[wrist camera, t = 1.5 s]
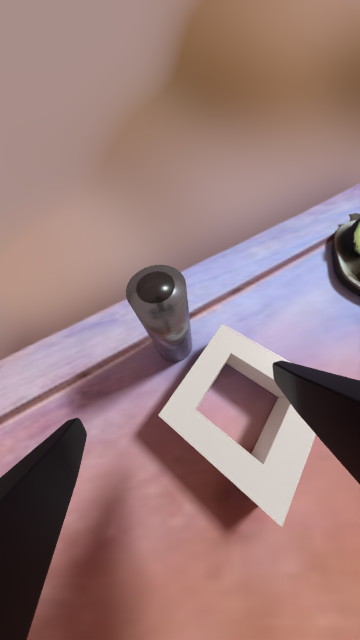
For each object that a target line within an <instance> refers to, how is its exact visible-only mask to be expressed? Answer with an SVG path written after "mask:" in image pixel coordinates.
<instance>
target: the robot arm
mask: <svg viewBox="0 0 360 640" xmlns="http://www.w3.org/2000/svg"><path fill="white" fill-rule="evenodd" d="M272 368H273V377H274V381H275V383H276V384H277V386H278V387H279V388H280V390H281V391H282V392H283V394H284V395H285V397H286V398H287V399H288V401H289V402H290V404H291V405H292V406H293V408H294V409H295V410H296V412H297V413H298V414H299V415H300V417H301V418H302V419H303V420H304V421H305V422H306V424H307V425H308V426H309V427H310V428H311V429H312V430H313V432H314V433H315V434H316V435H317V436H318V437H319V438H320V440H321V441H322V442H323V443H324V444H325V445H326V446H327V448H328V449H329V450H330V451H331V452H332V453H333V454H334V456H335V457H336V458H337V459H338V460H339V461H340V462H341V464H342V465H343V466H344V467H345V468H346V469H347V470H348V472H349V473H350V474H351V475H352V476H353V477H354V478H355V480H356V481H357V482H358V483H359V484H360V381H359V380H355V379H351V378H347V377H344V376H340V375H336V374H332V373H328V372H324V371H321V370H317V369H313V368H309V367H305V366H301V365H298V364H294V363H290V362H286V361H277V362H274V363H273V364H272ZM86 437H87V433H86V430H85V428H84V426H83V424H82V422H81V420H80V419H79V418H74V419H70V420H68V421H67V422H65V423H64V424H63V425H62V426H61V427H59V428H58V429H57V430H56V431H55V432H54V433H52V434H51V435H50V436H49V437H48V438H47V439H45V440H44V441H43V442H42V443H41V444H39V445H38V446H37V447H36V448H35V449H34V450H32V451H31V452H30V453H29V454H28V455H27V456H25V457H24V458H23V459H22V460H21V461H20V462H18V463H17V464H16V465H15V466H14V467H12V468H11V469H10V470H9V471H8V472H7V473H5V474H4V475H3V476H2V477H1V478H0V640H27V637H28V633H29V630H30V627H31V624H32V621H33V618H34V614H35V611H36V608H37V605H38V602H39V598H40V595H41V592H42V589H43V586H44V583H45V579H46V576H47V573H48V570H49V567H50V563H51V560H52V557H53V554H54V551H55V548H56V544H57V541H58V538H59V535H60V532H61V528H62V525H63V522H64V519H65V516H66V513H67V509H68V506H69V503H70V500H71V497H72V493H73V490H74V487H75V484H76V480H77V477H78V473H79V469H80V464H81V460H82V455H83V451H84V446H85V442H86Z"/></svg>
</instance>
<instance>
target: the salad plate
mask: <svg viewBox="0 0 360 640" xmlns="http://www.w3.org/2000/svg"><path fill="white" fill-rule="evenodd" d="M349 216H350V221H349V222H347V223H345V224H343V225H342V226H340V227H339V228H338V230H337V231H336V232H335V234H334V238H333V244H332V256H333V265H334V269H335V272H336V274H337V276H338V277H339V279H340V280H341V281H342V283H343V284H344V285H345V286H347V287H348V288H349V289H350V290H352V291H353V292H355V293H357V294H358V295H360V214H357V213H354V214H349Z"/></svg>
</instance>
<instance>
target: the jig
mask: <svg viewBox="0 0 360 640" xmlns="http://www.w3.org/2000/svg"><path fill="white" fill-rule="evenodd" d="M277 361H286V362H289V361H287V360H285V359H284V358H282V357H280V356H278V355H277V354H275V353H273V352H271V351H270V350H268V349H266V348H264V347H262V346H261V345H259V344H257V343H255V342H254V341H252V340H250V339H248V338H247V337H245V336H243V335H241V334H240V333H238V332H236V331H234V330H232V329H231V328H229V327H227V326H225V325H224V324H222V325H221V327H220V328H219V330H218V331H217V332H216V334H215V335H214V337H213V338H212V339H211V341H210V342H209V344H208V345H207V347H206V348H205V349H204V351H203V352H202V354H201V355H200V357H199V358H198V359H197V361H196V362H195V364H194V365H193V367H192V368H191V369H190V371H189V372H188V374H187V375H186V376H185V378H184V379H183V381H182V382H181V384H180V385H179V386H178V388H177V389H176V391H175V392H174V394H173V395H172V396H171V398H170V399H169V401H168V402H167V403H166V405H165V406H164V408H163V409H162V411H161V412H160V413H159V415H158V416H159V417H161V418H162V419H163V420H164V421H165V422H166V423H167V424H168V425H169V426H171V427H172V428H173V429H174V430H175V431H176V432H177V433H178V434H179V435H181V436H182V437H183V438H184V439H185V440H186V441H187V442H188V443H189V444H190V445H192V446H193V447H194V448H195V449H196V450H197V451H198V452H199V453H200V454H202V455H203V456H204V457H205V458H206V459H207V460H208V461H209V462H210V463H211V464H213V465H214V466H215V467H216V468H217V469H218V470H219V471H220V472H221V473H223V474H224V475H225V476H226V477H227V478H228V479H229V480H230V481H231V482H233V483H234V484H235V485H236V486H237V487H238V488H239V489H240V490H241V491H242V492H244V493H245V494H246V495H247V496H248V497H249V498H250V499H251V500H252V501H254V502H255V503H256V504H257V505H258V506H259V507H260V508H261V509H262V510H263V511H265V512H266V513H267V514H268V515H269V516H270V517H271V518H272V519H273V520H275V521H276V522H277V523H278V524H279V525H280V526H281V527H282V526H283V523H284V520H285V517H286V515H287V512H288V509H289V506H290V504H291V501H292V498H293V496H294V493H295V490H296V487H297V485H298V482H299V479H300V477H301V474H302V471H303V468H304V466H305V463H306V460H307V457H308V455H309V452H310V449H311V447H312V444H313V441H314V438H315V436H316V434H315V433H314V432H313V430H312V429H311V428H310V427H309V426H308V425H307V424H306V422H305V421H304V420H303V419H302V418H301V417H300V415H299V414H298V413H297V412H296V410H295V409H294V408H293V406H292V405H291V404H290V402H289V401H288V399H287V398H286V397H285V395H284V394H283V392H282V391H281V390H280V388H279V387H278V386H277V384H276V383H275V381H274V377H273V368H272V364H273V363H274V362H277ZM290 363H291V362H290ZM225 364H228V365H229V366H231V367H232V368H234V369H236V370H237V371H239V372H240V373H242V374H243V375H245V376H246V377H248V378H249V379H251V380H252V381H254V382H256V383H257V384H259V385H260V386H262V387H263V388H265V389H266V390H268V391H269V392H271V393H272V394H274V395H276V396H277V397H278V399H277V401H276V403H275V405H274V407H273V409H272V411H271V413H270V415H269V417H268V420H267V422H266V424H265V426H264V428H263V430H262V432H261V434H260V436H259V438H258V441H257V443H256V445H255V447H254V449H253V451H252V453H251V454H250V453H249V452H247V451H246V450H245V449H244V448H243V447H241V446H240V445H239V444H238V443H236V442H235V441H234V440H233V439H231V438H230V437H229V436H228V435H226V434H225V433H224V432H223V431H221V430H220V429H219V428H218V427H217V426H215V425H214V424H213V423H212V422H210V421H209V420H208V419H207V418H205V417H204V416H203V415H202V414H200V413H199V412H198V411H197V408H198V407H199V405H200V404H201V402H202V400H203V399H204V397H205V396H206V394H207V392H208V391H209V389H210V388H211V386H212V385H213V383H214V381H215V380H216V378H217V377H218V375H219V373H220V372H221V370H222V369H223V367H224V366H225Z"/></svg>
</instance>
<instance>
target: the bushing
mask: <svg viewBox="0 0 360 640" xmlns="http://www.w3.org/2000/svg"><path fill="white" fill-rule="evenodd" d="M126 297H127V300H128V302H129V304H130V305H131V307H132V309H133V310H134V312H135V313H136V315H137V317H138V318H139V320H140V321H141V323H142V325H143V326H144V328H145V329H146V331H147V333H148V334H149V336H150V337H151V339H152V341H153V342H154V344H155V345H156V347H157V349H158V350H159V352H160V354H161V355H162V356H163V357H164V358H165V359H166V360H168V361H171V362H178V361H181V360H184V359H185V358H186V357H187V356H188V355H189V354H190V352H191V350H192V338H191V329H190V319H189V309H188V300H187V290H186V282H185V279H184V277H183V275H182V274H181V273H180V272H179V271H178V270H177V269H175V268H173V267H170V266H166V265H155V266H150V267H147V268H144V269H142V270H141V271H139V272H137V273H136V274H135V275H134V276H133V277H132V278H131V280H130V281H129V283H128V285H127V289H126Z"/></svg>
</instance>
